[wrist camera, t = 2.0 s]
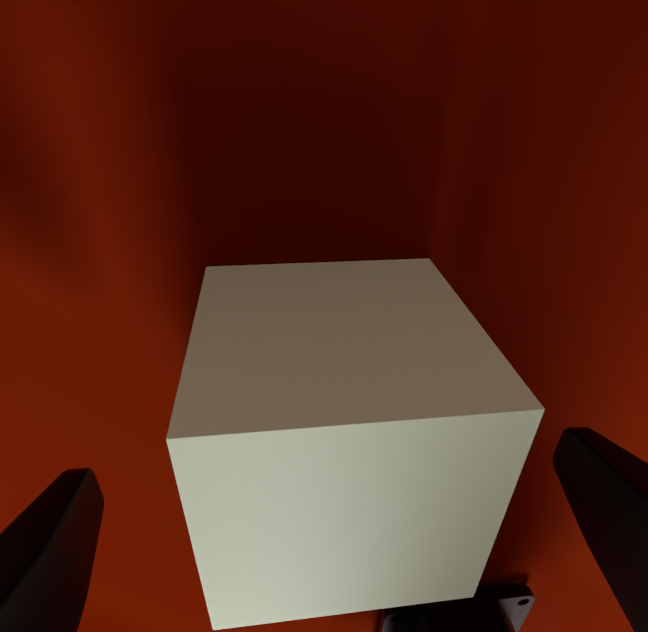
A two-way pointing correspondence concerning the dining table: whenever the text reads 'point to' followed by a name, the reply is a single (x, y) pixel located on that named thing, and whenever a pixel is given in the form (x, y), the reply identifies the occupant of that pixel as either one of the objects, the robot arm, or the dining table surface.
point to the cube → (342, 439)
